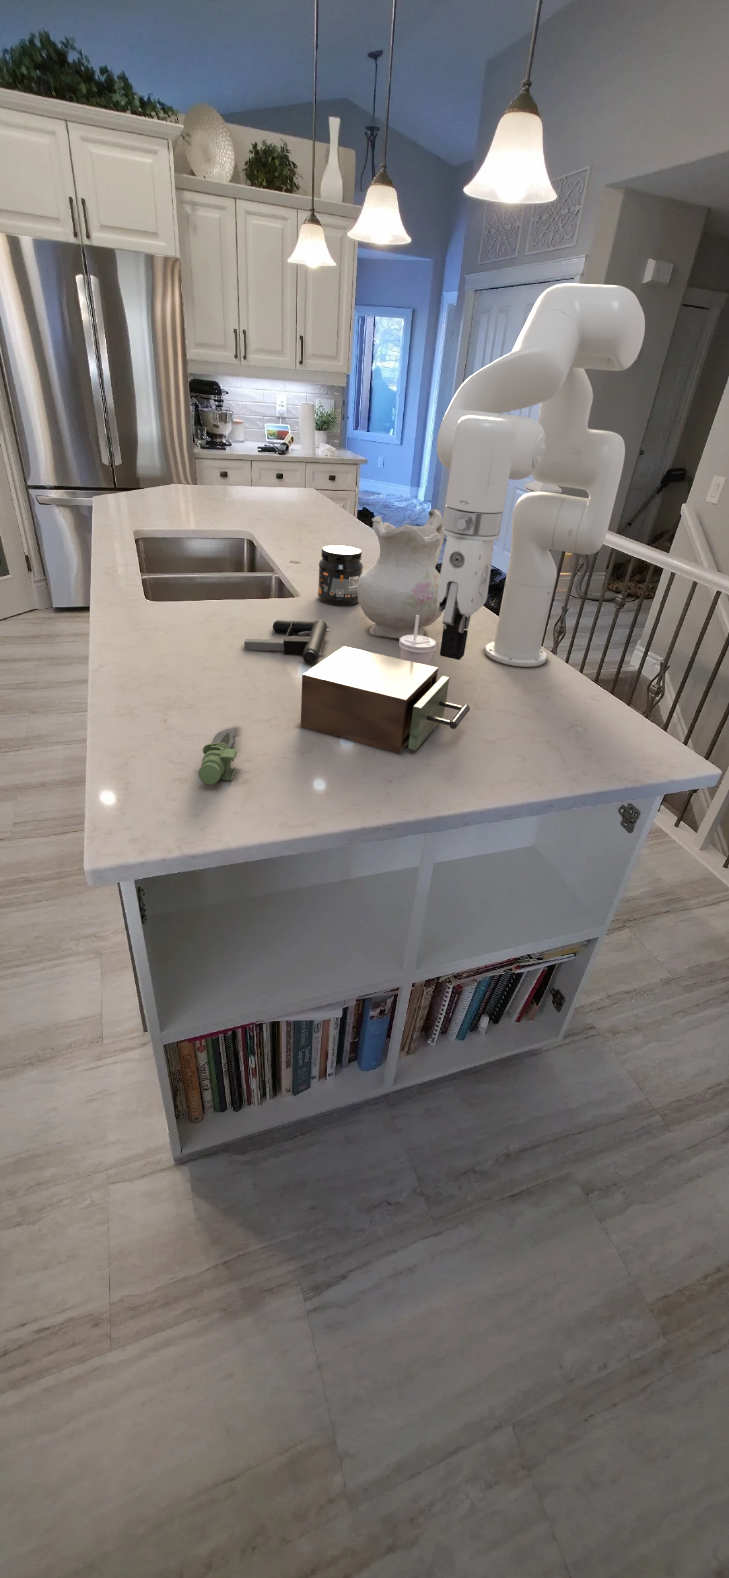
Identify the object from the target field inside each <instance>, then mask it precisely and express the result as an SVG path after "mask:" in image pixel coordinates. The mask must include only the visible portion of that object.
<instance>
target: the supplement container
mask: <svg viewBox="0 0 729 1578" xmlns="http://www.w3.org/2000/svg"><path fill="white" fill-rule="evenodd" d="M320 553H321V559H320V561H319V562H318V586H317V588H318V590H317V597H318V599H319V600H320V601H321V602H323V603H326V604H329V605H333V606H351V605H355V604H357V603H359V601H358V593H357V586H358V581H359V577H360V575H361V574H362V572H363V571H364V570H363V569H364V565H363V564H362V562H361V561H362V558H363V557H362V555H363V551H362V550H361V549H360V548H357V547H354V546H351V545H344V544H343V545H342V544H331V545H325V546H323V547H321V551H320Z"/></svg>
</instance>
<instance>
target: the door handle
mask: <svg viewBox="0 0 729 1578" xmlns="http://www.w3.org/2000/svg"><path fill="white" fill-rule="evenodd" d="M328 628H329V626H328V624H327V622H326V621H325V620H324V619H316V620H315V621H312V620H311V621H310V620H283V619H279V620H275V621H274V622H273V623H272V630H273V631H274V632H275V633H277V634H286V635H285V637H284V639H263V638H262V639H260V638H245V640H244V641H243V643H244V650H245V651H265V652H266V651H268V652H269V651H270V652H284V653H283V654H284V655H286V656H302V660H303V662H304V663H306V664H307V665H313V664H315V663H316V662H317V661H318V659H319V657H321V656H322V654H321V653H322V649H323V646H324V643H325V636H326V633H331V631H329V630H328ZM294 634H297V636H295V635H294ZM308 635H309V636H308Z"/></svg>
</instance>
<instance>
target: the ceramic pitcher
mask: <svg viewBox="0 0 729 1578" xmlns="http://www.w3.org/2000/svg"><path fill="white" fill-rule="evenodd" d="M441 513H442V511H440V509H438V508H431V509H430V510H429V511H428V519H427V521H426V523H425V524H424V525H423V526H416V525H415V526H414V525H410V524H405V525H401V526H399V527H395V526H394V525H392V524H391V523H389V522H387V521H385V522H383V518H382V516H380V515H379V516H375V517H373V518H371V521H372V528H373V532H374V533H375V535H376V537H377V539H378V544H379V557H378V559H377V561H376V562H375V563H374V564H372V565H371V566H370V567H368V568H366V569H365V570H363V571H362V574H361V575H360V577H359V581H358V586H357V593H358V604H359V606H360V608H361V610H362V612H363V614H364V616H366V617H367V619H369V620H370V621H371V622H373V623H374V625H373V626H372V627H371V628H370V629H369V630H368V631H369V634H370V635H373V636H377V637H386V638H392V639H397V640H400V638H401V637H403V636H406V635H414V629H415V621H416V615H419V623H418V631H417V635H422V636H425V631H424V629H423V628H425V627H428V626H430V625H432V624H433V623H435V622H436V621H437V620H438V619H439V618H440V617H441V616H442V614H443V613H444V611H445V610H443V611H442V612H440V611H439V610H438V609H437V606H436V605H437V593H438V585H439V579H440V572H439V571H438V570H437V569H436V566H437V565H438V562H439V560H440V556H441V552H442V548H443V544H444V541H445V534H443V533H442V527H443V520H444V517H443V516H442V515H441Z"/></svg>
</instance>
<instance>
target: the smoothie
mask: <svg viewBox="0 0 729 1578" xmlns="http://www.w3.org/2000/svg"><path fill="white" fill-rule="evenodd" d="M418 623H419V615H416V621H415V629H414V635H406V636H403V637H401V638H400V639H399V641H398V642H399V643H398V646H399V648H400V659H403V660H407V661H411V662H416V663H420V664H425V665H429V666H431V661H432V659H433V658H432V657H433V654H434V652H435V650H436V649H437V641H436V640H435V639H433V638H431V637H430V636H426V635H424V636H422V635H417V631H418Z"/></svg>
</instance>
